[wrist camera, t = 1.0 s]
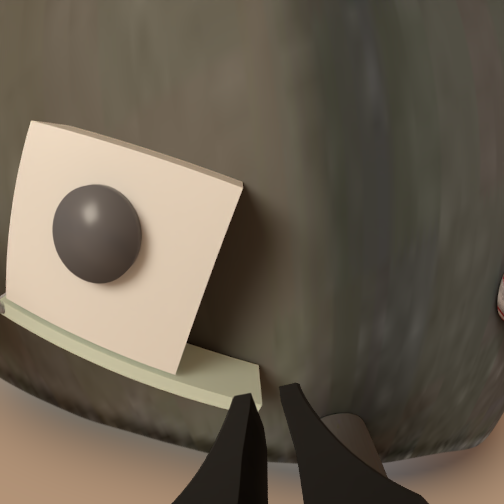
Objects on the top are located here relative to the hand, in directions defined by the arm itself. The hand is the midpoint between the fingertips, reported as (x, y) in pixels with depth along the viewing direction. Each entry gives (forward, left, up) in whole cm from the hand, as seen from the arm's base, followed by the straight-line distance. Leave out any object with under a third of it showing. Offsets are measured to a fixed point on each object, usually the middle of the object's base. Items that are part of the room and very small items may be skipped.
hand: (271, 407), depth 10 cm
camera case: (-9, +2, -8) cm, 12 cm away
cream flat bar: (-7, -4, -8) cm, 12 cm away
